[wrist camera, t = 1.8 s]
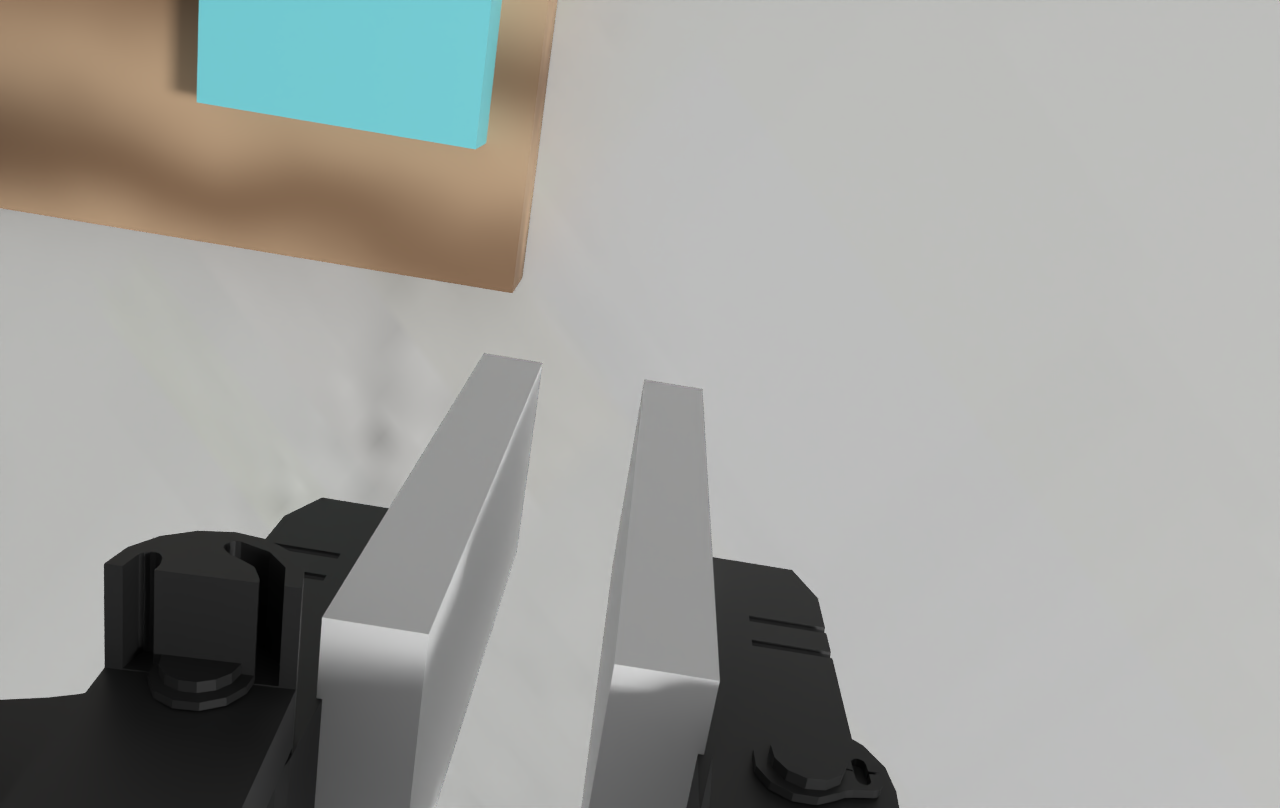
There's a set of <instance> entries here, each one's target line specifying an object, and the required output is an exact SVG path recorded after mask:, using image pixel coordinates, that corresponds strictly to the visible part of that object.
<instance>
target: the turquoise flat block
mask: <svg viewBox="0 0 1280 808" xmlns="http://www.w3.org/2000/svg"><path fill="white" fill-rule="evenodd" d="M501 5H502V0H199V17H198V63H197V103H203V104H209V105H215V106H221V107H227V108H233V109H239V110H245V111H251V112H257V113H263V114H269V115H274V116H280V117H286V118H292V119H298V120H304V121H310V122H316V123H322V124H328V125H334V126H340V127H346V128H352V129H358V130H364V131H369V132H375V133H381V134H387V135H393V136H399V137H405V138H411V139H417V140H423V141H429V142H435V143H441V144H447V145H453V146H459V147H464V148H470V149H477V148H479V147H481V146H482V145H484V144H486V141H487V132H488V123H489V113H490V104H491V95H492V86H493V77H494V68H495V59H496V50H497V41H498V32H499V23H500V14H501Z"/></svg>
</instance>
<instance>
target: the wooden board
mask: <svg viewBox="0 0 1280 808" xmlns="http://www.w3.org/2000/svg"><path fill="white" fill-rule="evenodd" d="M556 7H557V0H502V5H501V14H500V23H499V32H498V41H497V50H496V59H495V68H494V77H493V86H492V95H491V104H490V113H489V123H488V132H487V141H486V144H484V145H482V146H481V147H479V148H477V149H470V148H464V147H459V146H453V145H447V144H441V143H435V142H429V141H423V140H417V139H411V138H405V137H399V136H393V135H387V134H381V133H375V132H369V131H364V130H358V129H352V128H346V127H340V126H334V125H328V124H322V123H316V122H310V121H304V120H298V119H292V118H286V117H280V116H274V115H269V114H263V113H257V112H251V111H245V110H239V109H233V108H227V107H221V106H215V105H209V104H203V103H197V63H198V17H199V0H0V208H3V209H9V210H15V211H21V212H27V213H33V214H39V215H45V216H51V217H57V218H63V219H69V220H75V221H82V222H88V223H94V224H100V225H106V226H112V227H118V228H124V229H130V230H136V231H142V232H148V233H154V234H160V235H166V236H172V237H178V238H184V239H190V240H196V241H202V242H208V243H214V244H220V245H226V246H232V247H238V248H244V249H250V250H256V251H262V252H268V253H274V254H280V255H286V256H292V257H298V258H304V259H310V260H316V261H322V262H328V263H334V264H340V265H346V266H353V267H359V268H365V269H371V270H377V271H383V272H389V273H395V274H401V275H407V276H413V277H419V278H425V279H431V280H437V281H443V282H449V283H455V284H461V285H467V286H473V287H479V288H485V289H491V290H497V291H503V292H509V293H513V291H514V290H515V288H516V287H517V285H518V283H519V282H520V280H521V279H522V276H523V268H524V260H525V252H526V244H527V236H528V228H529V220H530V212H531V205H532V197H533V189H534V181H535V173H536V165H537V157H538V149H539V141H540V134H541V126H542V118H543V110H544V102H545V94H546V86H547V78H548V70H549V63H550V55H551V47H552V39H553V31H554V23H555V15H556Z"/></svg>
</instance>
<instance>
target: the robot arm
mask: <svg viewBox="0 0 1280 808" xmlns="http://www.w3.org/2000/svg"><path fill="white" fill-rule="evenodd" d="M542 364H543V363H541V362H535V361H529V360H523V359H517V358H511V357H504V356H498V355H492V354H486V353H484V354H483V356H482V358H481V359H480V361H479V363H478V364H477V366H476V367H475V369H474V371H473V372H472V374H471V376H470V377H469V379H468V380H467V382H466V384H465V385H464V387H463V389H462V390H461V392H460V394H459V395H458V397H457V398H456V400H455V402H454V403H453V405H452V407H451V408H450V410H449V411H448V413H447V415H446V416H445V418H444V420H443V421H442V423H441V424H440V426H439V428H438V429H437V431H436V433H435V434H434V436H433V438H432V439H431V441H430V442H429V444H428V446H427V447H426V449H425V451H424V452H423V454H422V455H421V457H420V459H419V460H418V462H417V464H416V465H415V467H414V468H413V470H412V472H411V473H410V475H409V477H408V478H407V480H406V481H405V483H404V485H403V486H402V488H401V490H400V491H399V493H398V495H397V496H396V498H395V499H394V501H393V503H392V504H391V506H390V508H383V507H377V506H370V505H364V504H358V503H352V502H346V501H340V500H333V499H327V498H320V499H318V500H316V501H314V502H312V503H310V504H308V505H306V506H304V507H302V508H300V509H298V510H296V511H294V512H292V513H290V514H288V515H285V516H284V517H283V518H282V520H281V521H280V522H279V523H278V525H277V526H276V527H275V528H274V529H273V531H272V532H271V533H270V534H269V535H268V537H267V538H266V539H263V538H258V537H254V536H249V535H245V534H241V533H236V532H214V531H194V532H186V533H179V534H172V535H164V536H159V537H156V538H153V539H150V540H147V541H144V542H142V543H139V544H136V545H133V546H130V547H127V548H126V549H124V550H123V551H122V552H120V553H119V554H117V555H116V556H114V557H113V558H112V559H110V560H109V561H107V562H106V563H105V564H104V626H105V668H104V669H103V671H102V672H101V673H100V675H99V676H98V677H97V678H96V680H95V681H94V682H93V684H92V685H91V686H90V688H89V689H88V690H87V691H86V693H83V694H77V695H68V696H59V697H50V698H31V699H10V700H0V808H435V807H436V804H437V801H438V798H439V795H440V792H441V788H442V785H443V782H444V779H445V776H446V773H447V770H448V766H449V763H450V760H451V757H452V754H453V751H454V747H455V744H456V741H457V738H458V735H459V732H460V729H461V725H462V722H463V719H464V716H465V713H466V710H467V706H468V703H469V700H470V697H471V694H472V691H473V688H474V684H475V681H476V678H477V675H478V672H479V669H480V665H481V662H482V659H483V656H484V653H485V650H486V647H487V643H488V640H489V637H490V634H491V631H492V628H493V624H494V621H495V618H496V615H497V612H498V609H499V606H500V602H501V599H502V596H503V593H504V590H505V587H506V583H507V580H508V577H509V574H510V571H511V568H512V564H513V561H514V558H515V555H516V552H517V546H518V539H519V531H520V524H521V517H522V510H523V502H524V495H525V488H526V480H527V473H528V466H529V458H530V451H531V444H532V437H533V429H534V422H535V415H536V407H537V400H538V393H539V385H540V378H541V371H542ZM824 629H825V627H824V622H823V618H822V614H821V610H820V606H819V602H818V598H817V597H816V596H815V595H814V594H813V593H812V592H811V590H810V589H809V588H808V587H807V586H806V585H805V584H804V583H803V582H802V581H801V579H800V578H799V577H798V576H797V575H796V574H795V573H794V572H793V571H792V570H788V569H782V568H776V567H770V566H763V565H757V564H751V563H745V562H739V561H733V560H726V559H720V558H714V557H712V541H711V524H710V507H709V491H708V474H707V457H706V441H705V424H704V407H703V390H702V389H698V388H692V387H686V386H680V385H674V384H668V383H662V382H656V381H650V380H644V385H643V391H642V397H641V403H640V408H639V414H638V420H637V426H636V432H635V438H634V443H633V449H632V455H631V461H630V467H629V473H628V478H627V484H626V490H625V496H624V502H623V508H622V514H621V519H620V525H619V531H618V537H617V543H616V549H615V554H614V560H613V566H612V574H611V582H610V589H609V597H608V605H607V613H606V620H605V628H604V636H603V644H602V652H601V659H600V667H599V675H598V683H597V690H596V698H595V706H594V714H593V722H592V729H591V737H590V745H589V753H588V760H587V768H586V776H585V784H584V792H583V799H582V807H581V808H899V805H898V799H897V794H896V790H895V788H894V786H893V784H892V782H891V779H890V777H889V775H888V773H887V771H886V768H885V767H884V766H883V765H882V764H881V763H880V762H879V761H878V760H877V759H876V758H875V757H874V756H873V755H872V754H871V753H870V752H869V751H868V750H867V749H866V748H865V747H864V746H863V745H861V744H859V743H858V742H856V741H854V740H852V738H851V734H850V730H849V726H848V722H847V718H846V714H845V709H844V705H843V701H842V697H841V693H840V689H839V685H838V680H837V676H836V672H835V668H834V664H833V660H832V658H830V653H831V651H830V647H829V643H828V639H827V635H826V633H824Z"/></svg>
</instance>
